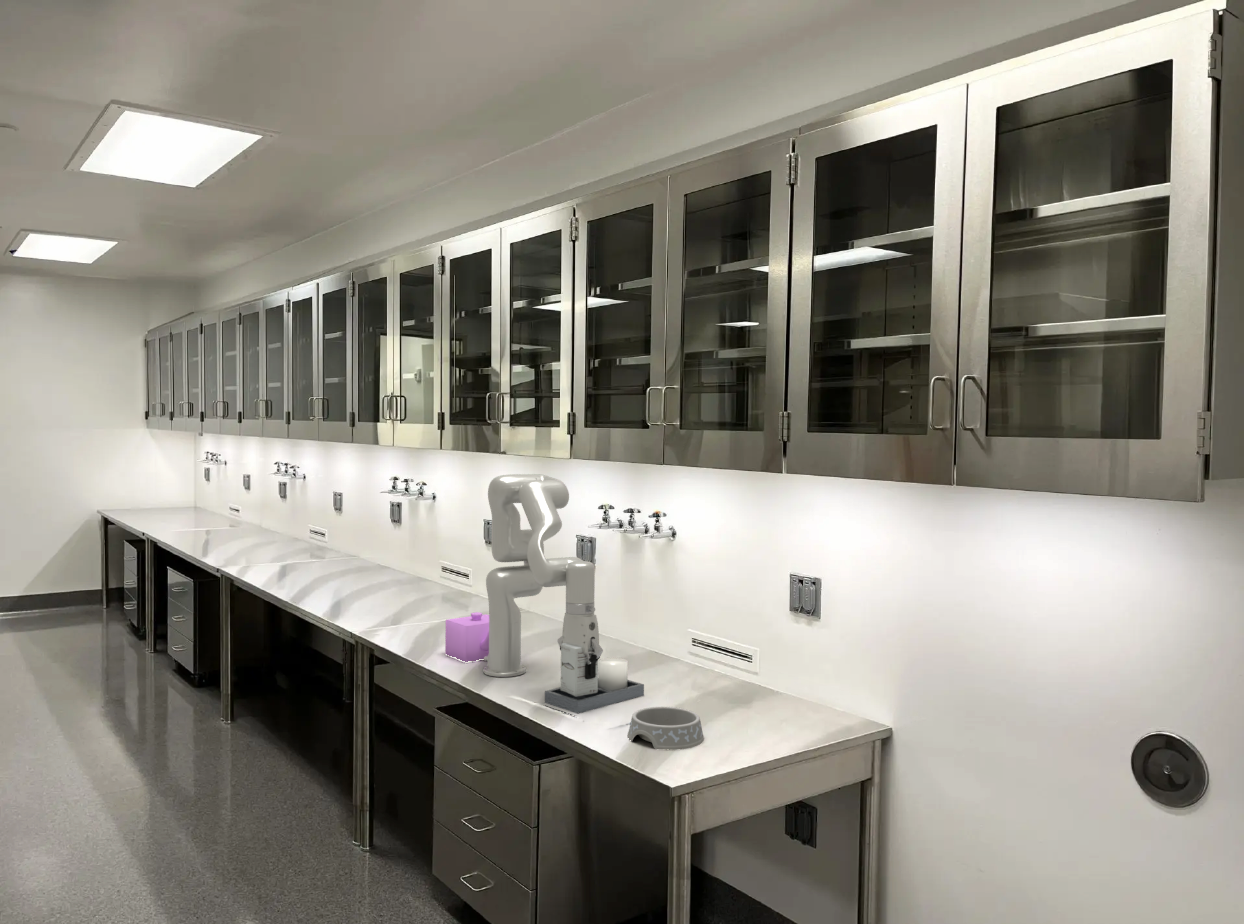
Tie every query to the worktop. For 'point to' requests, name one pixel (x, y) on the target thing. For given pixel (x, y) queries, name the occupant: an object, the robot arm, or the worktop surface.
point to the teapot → (468, 637)
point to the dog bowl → (667, 727)
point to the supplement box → (576, 671)
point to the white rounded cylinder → (612, 674)
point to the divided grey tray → (592, 698)
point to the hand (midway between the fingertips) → (579, 674)
